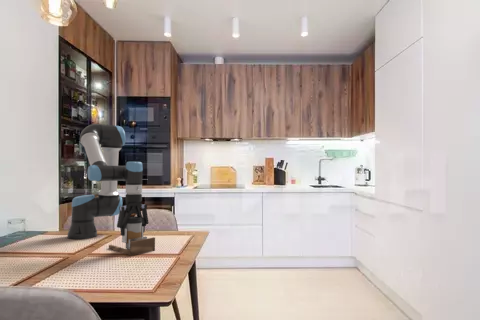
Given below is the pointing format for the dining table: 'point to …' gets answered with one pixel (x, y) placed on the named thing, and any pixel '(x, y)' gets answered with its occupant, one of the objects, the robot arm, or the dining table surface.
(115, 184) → the robot arm
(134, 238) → the pusher
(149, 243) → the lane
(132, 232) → the coffee cup
